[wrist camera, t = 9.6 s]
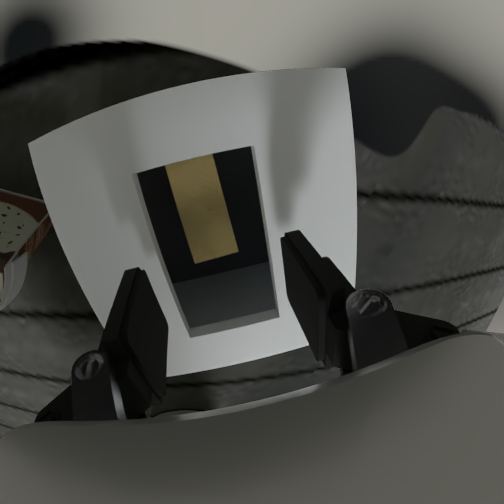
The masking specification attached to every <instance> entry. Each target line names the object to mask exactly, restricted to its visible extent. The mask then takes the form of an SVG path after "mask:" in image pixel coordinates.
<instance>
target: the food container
mask: <svg viewBox="0 0 504 504" xmlns="http://www.w3.org/2000/svg"><path fill="white" fill-rule="evenodd" d="M52 226H53V224H52V221H51V218H50V216H49V213H48V210H47V207H46V204H45V202H44V200H41V199H38V198H34V197H30V196H26V195H23V194H19V193H15V192H11V191H8V190H4V189H0V310H2V309H3V308H4V307H5V306H6V305H8V304H9V303H10V302H11V301H12V300H13V299H14V298H15V297H16V296H17V295H18V293H19V292H20V290H21V288H22V286H23V283H24V280H25V276H26V269H27V262H28V261H29V259H30V258H31V257H32V255H33V254H34V252H35V251H36V249H37V248H38V246H39V245H40V244H41V242H42V241H43V239H44V238H45V237H46V235H47V234H48V233H49V231H50V230H51V228H52Z"/></svg>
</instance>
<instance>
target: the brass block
mask: <svg viewBox="0 0 504 504" xmlns="http://www.w3.org/2000/svg"><path fill="white" fill-rule="evenodd" d="M165 167H166V171H167V174H168V178H169V181H170V185H171V188H172V192H173V195H174V199H175V202H176V205H177V209H178V212H179V215H180V219H181V222H182V225H183V228H184V231H185V235H186V238H187V241H188V244H189V247H190V250H191V253H192V256H193V259H194V262H195V264H196V263H200V262H203V261H207V260H210V259H214V258H218V257H221V256H225V255H228V254H232V253H235V252H239V251H238V248H237V244H236V240H235V237H234V233H233V229H232V226H231V222H230V218H229V215H228V211H227V207H226V203H225V200H224V196H223V192H222V188H221V185H220V181H219V177H218V173H217V169H216V166H215V162H214V158H213V154H209V155H204V156H200V157H195V158H191V159H187V160H183V161H179V162H175V163H171V164H167V165H165Z"/></svg>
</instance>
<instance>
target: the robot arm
mask: <svg viewBox="0 0 504 504" xmlns="http://www.w3.org/2000/svg"><path fill="white" fill-rule="evenodd" d="M280 242H281V250H282V258H283V267H284V275H285V284H286V292H287V297H288V301H289V303H290V305H291V307H292V309H293V311H294V313H295V316H296V318H297V320H298V322H299V324H300V326H301V328H302V330H303V332H304V335H305V337H306V339H307V341H308V343H309V345H310V347H311V349H312V352H313V354H314V356H315V358H316V360H317V361H321V360H322V361H323V363H324V366H325V368H327V367H330V366H335V367H338V368H340V372H341V377H338V378H335V379H332V380H329V381H326V382H323V383H320V384H317V385H313V386H310V387H307V388H304V389H300V390H297V391H293V392H290V393H286V394H282V395H278V396H275V397H271V398H267V399H263V400H258V401H254V402H250V403H245V404H240V405H236V406H231V407H225V408H220V409H215V410H209V411H203V412H202V411H193V410H179V411H171V412H166V413H162V414H159V415H157V416H155V417H154V418H151V415H150V412H149V410H148V408H149V407H151V405H160V404H162V396H164V395H166V373H167V348H168V331H169V328H168V323H167V320H166V318H165V316H164V313H163V311H162V309H161V307H160V304H159V302H158V300H157V297H156V295H155V293H154V290H153V288H152V286H151V283H150V281H149V278H148V276H147V273H146V271H145V270H141V269H140V268H139V267H136V268H132V269H128V270H125V271H124V274H123V277H122V279H121V282H120V285H119V288H118V290H117V293H116V296H115V299H114V302H113V305H112V308H111V310H110V313H109V316H108V319H107V322H106V325H105V329H104V332H103V335H102V339H101V342H100V346H99V349H98V350H92V351H88V352H86V353H84V354H82V355H81V356H80V357H79V358H78V359H77V360H76V361H75V362H74V365H73V367H72V371H71V385H70V386H69V387H68V388H67V389H65V390H64V391H63V392H62V393H61V394H60V395H58V396H57V397H56V398H55V399H54V400H53V401H51V402H50V403H49V404H48V405H47V406H46V407H44V408H43V409H42V410H41V411H40V412H39V413H38V415H37V417H36V419H35V422H34V423H30V424H25V425H22V426H19V427H17V428H14V429H12V430H10V431H9V432H7V433H6V434H4V435H3V436H2V437H1V439H0V504H504V334H502V333H492V332H484V331H475V330H467V329H463V330H462V332H459V331H458V329H457V328H456V327H455V326H454V325H452V324H451V323H449V322H446V321H443V320H438V319H433V318H428V317H424V316H419V315H414V314H410V313H405V312H401V311H396V310H394V308H393V305H392V302H391V300H390V299H389V297H388V296H387V295H385V294H384V293H382V292H380V291H378V290H373V289H362V290H358V291H356V290H355V288H354V287H353V286H352V285H351V283H350V282H349V281H348V280H347V279H346V277H345V276H344V275H343V274H342V272H341V271H340V270H339V269H338V268H337V266H336V265H335V264H334V263H333V262H332V260H331V259H330V258H329V257H327V256H326V257H321V256H320V254H319V253H318V252H317V251H316V249H315V248H314V247H313V246H312V245H311V243H310V242H309V241H308V240H307V238H306V237H305V236H304V235H303V234H302V232H301V231H300V230H295V231H290V232H286V233H285V234H284V237H281V238H280Z"/></svg>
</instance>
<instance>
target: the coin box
mask: <svg viewBox="0 0 504 504" xmlns="http://www.w3.org/2000/svg"><path fill="white" fill-rule="evenodd" d="M28 146H29V151H30V155H31V158H32V162H33V166H34V170H35V173H36V176H37V180H38V183H39V186H40V189H41V193H42V196H43V199H44V202H45V204H46V207H47V210H48V213H49V216H50V218H51V221H52V224H53V226H54V229H55V231H56V234H57V236H58V239H59V241H60V243H61V246H62V248H63V250H64V253H65V255H66V257H67V259H68V261H69V264H70V266H71V268H72V270H73V272H74V274H75V276H76V278H77V280H78V282H79V284H80V286H81V288H82V290H83V292H84V294H85V296H86V298H87V299H88V301H89V303H90V305H91V307H92V309H93V310H94V312H95V314H96V316H97V317H98V319H99V321H100V323H101V324H102V326H103V328H104V329H105V325H106V322H107V319H108V316H109V313H110V310H111V308H112V305H113V302H114V299H115V296H116V293H117V290H118V288H119V285H120V282H121V279H122V277H123V274H124V271H125V270H128V269H132V268H136V267H139V268H140V269H141V270H145V271H146V273H147V276H148V278H149V281H150V283H151V286H152V288H153V290H154V293H155V295H156V297H157V300H158V302H159V304H160V307H161V309H162V311H163V313H164V316H165V318H166V320H167V323H168V328H169V331H168V348H167V373H166V377H170V376H177V375H183V374H188V373H194V372H200V371H205V370H210V369H215V368H220V367H225V366H230V365H234V364H239V363H243V362H247V361H252V360H256V359H260V358H264V357H268V356H272V355H275V354H279V353H283V352H287V351H290V350H294V349H297V348H301V347H304V346H307V345H309V343H308V341H307V339H306V337H305V335H304V332H303V330H302V328H301V326H300V324H299V322H298V320H297V318H296V316H295V313H294V311H293V309H292V307H291V305H290V303H289V301H288V297H287V292H286V284H285V275H284V267H283V258H282V250H281V242H280V238H281V237H284V234H285V233H286V232H290V231H295V230H300V231H301V232H302V234H303V235H304V236H305V237H306V238H307V240H308V241H309V242H310V243H311V245H312V246H313V247H314V248H315V249H316V251H317V252H318V253H319V254H320V256H321V257H326V256H327V257H329V258H330V259H331V260H332V262H333V263H334V264H335V265H336V266H337V268H338V269H339V270H340V271H341V272H342V274H343V275H344V276H345V277H346V279H347V280H348V281H349V282H350V283H351V285H352V286H353V287H354V288H355V275H356V250H357V189H356V165H355V149H354V136H353V124H352V115H351V105H350V97H349V89H348V82H347V75H346V69H345V68H304V69H285V70H273V71H262V72H253V73H246V74H238V75H232V76H225V77H219V78H214V79H208V80H203V81H198V82H194V83H189V84H185V85H180V86H176V87H172V88H168V89H164V90H161V91H157V92H153V93H150V94H147V95H143V96H140V97H137V98H134V99H130V100H127V101H124V102H121V103H119V104H116V105H113V106H110V107H107V108H105V109H102V110H99V111H97V112H94V113H92V114H89V115H87V116H84V117H82V118H80V119H77V120H75V121H73V122H71V123H68V124H66V125H64V126H62V127H60V128H58V129H55V130H53V131H51V132H49V133H47V134H45V135H43V136H41V137H40V138H38V139H36V140H34V141H32V142H30V143H28ZM209 154H213V158H214V162H215V166H216V169H217V173H218V177H219V181H220V185H221V188H222V192H223V196H224V200H225V203H226V207H227V211H228V215H229V218H230V222H231V226H232V229H233V233H234V237H235V240H236V244H237V248H238V251H239V252H235V253H232V254H228V255H225V256H221V257H218V258H214V259H210V260H207V261H203V262H200V263H196V264H195V262H194V259H193V256H192V253H191V250H190V247H189V244H188V241H187V238H186V235H185V231H184V228H183V225H182V222H181V219H180V215H179V212H178V209H177V205H176V202H175V199H174V195H173V192H172V188H171V185H170V181H169V178H168V174H167V171H166V167H165V165H167V164H171V163H175V162H179V161H183V160H187V159H191V158H195V157H200V156H204V155H209Z"/></svg>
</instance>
